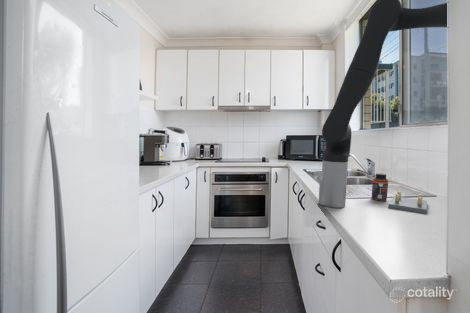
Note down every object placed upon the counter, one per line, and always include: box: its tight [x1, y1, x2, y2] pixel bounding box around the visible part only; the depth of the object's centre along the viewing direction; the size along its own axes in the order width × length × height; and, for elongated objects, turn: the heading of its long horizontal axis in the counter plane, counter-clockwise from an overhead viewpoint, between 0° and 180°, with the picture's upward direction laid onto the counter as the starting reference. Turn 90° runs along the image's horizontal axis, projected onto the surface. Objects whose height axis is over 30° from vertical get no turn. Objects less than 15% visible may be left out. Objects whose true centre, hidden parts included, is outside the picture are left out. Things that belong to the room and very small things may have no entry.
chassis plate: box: [388, 191, 428, 214], centre depth 108 cm, size 12×18×4 cm, turn 145°
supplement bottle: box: [371, 172, 389, 202], centre depth 118 cm, size 6×6×11 cm
